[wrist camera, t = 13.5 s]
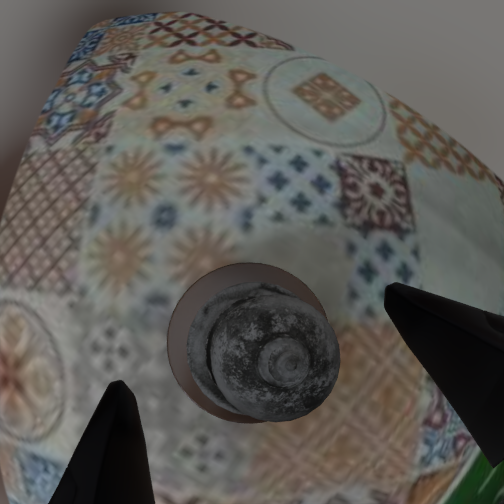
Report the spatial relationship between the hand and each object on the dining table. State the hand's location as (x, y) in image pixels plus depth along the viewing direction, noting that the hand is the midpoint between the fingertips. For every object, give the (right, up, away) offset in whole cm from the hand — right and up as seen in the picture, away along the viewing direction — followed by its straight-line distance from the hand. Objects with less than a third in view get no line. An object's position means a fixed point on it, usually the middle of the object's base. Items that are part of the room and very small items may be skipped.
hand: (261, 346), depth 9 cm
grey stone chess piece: (0, -2, +7) cm, 7 cm away
